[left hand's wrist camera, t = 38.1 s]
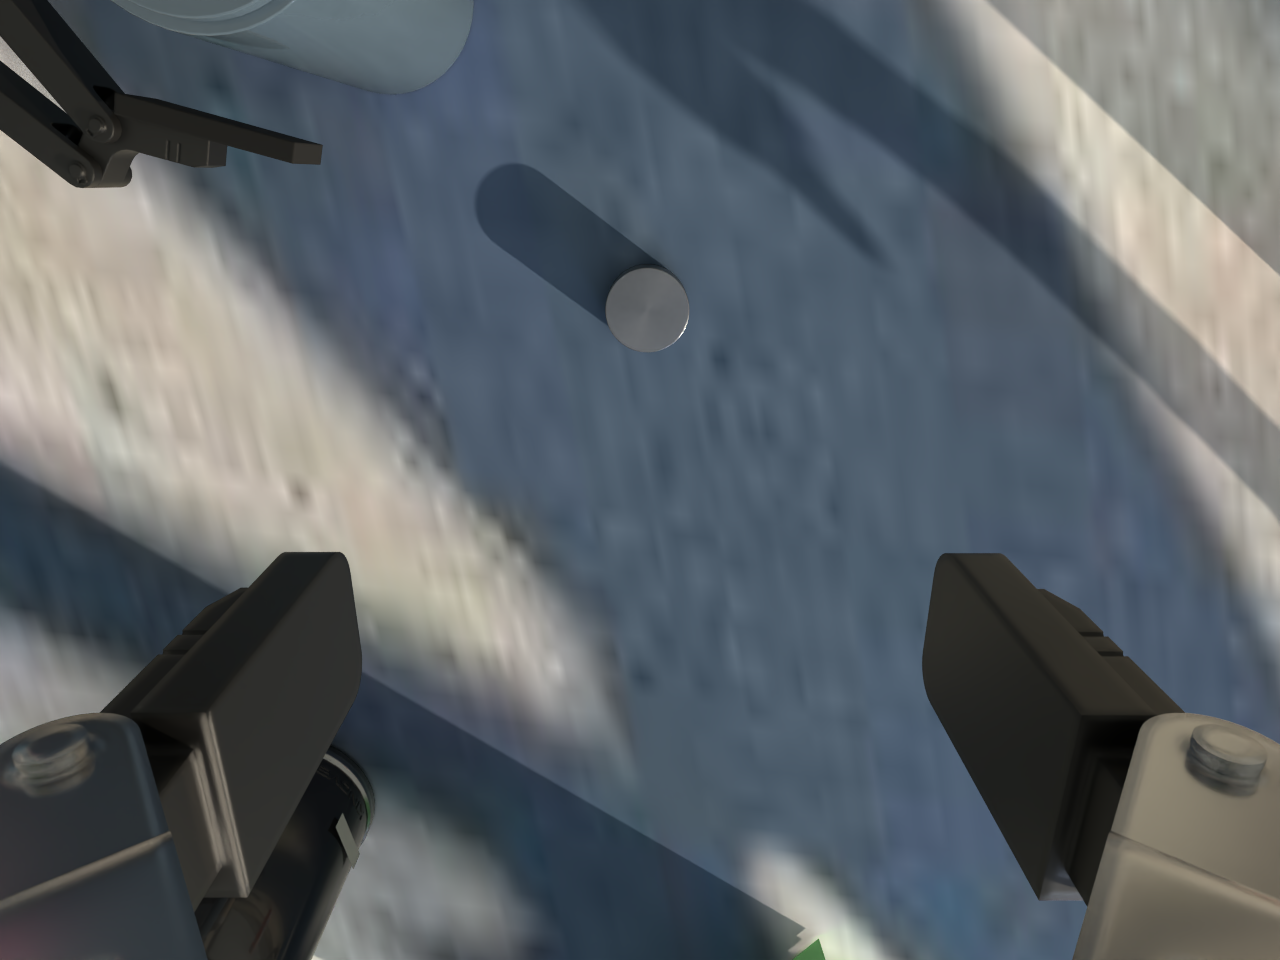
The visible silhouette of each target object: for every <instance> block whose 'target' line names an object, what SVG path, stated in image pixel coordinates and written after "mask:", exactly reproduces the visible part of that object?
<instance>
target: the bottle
mask: <svg viewBox="0 0 1280 960" xmlns="http://www.w3.org/2000/svg"><path fill="white" fill-rule="evenodd" d="M111 1H112V2H114V3H115V4H117V5H118V6H120V7H121V8H123V9H124V10H126V11H128V12H129V13H131V14H133V15H135V16H137V17H139V18H141V19H143V20H145V21H147V22H149V23H151V24H154V25H157V26H159V27H162V28H165V29H168V30H171V31H174V32H177V33H181V34H184V35H187V36H190V37H194V38H197V39H200V40H203V41H207V42H210V43H213V44H216V45H220V46H223V47H226V48H229V49H232V50H236V51H239V52H242V53H245V54H249V55H252V56H255V57H258V58H262V59H265V60H268V61H271V62H275V63H278V64H281V65H284V66H288V67H291V68H294V69H297V70H301V71H304V72H307V73H310V74H314V75H317V76H320V77H323V78H327V79H330V80H333V81H336V82H340V83H343V84H346V85H349V86H352V87H356V88H359V89H362V90H365V91H369V92H374V93H379V94H391V95H392V94H404V93H408V92H412V91H416V90H418V89H421V88H423V87H425V86H427V85H429V84H431V83H432V82H434V81H435V80H437V79H438V78H439V77H441V76H442V75H443V74H444V73H445V72H446V71H447V70H448V69H449V68H450V67H451V66H452V64H453V63H454V62H455V60H456V59H457V57H458V56H459V54H460V52H461V50H462V48H463V47H464V45H465V42H466V39H467V37H468V34H469V31H470V26H471V22H472V16H473V7H474V0H111Z"/></svg>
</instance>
